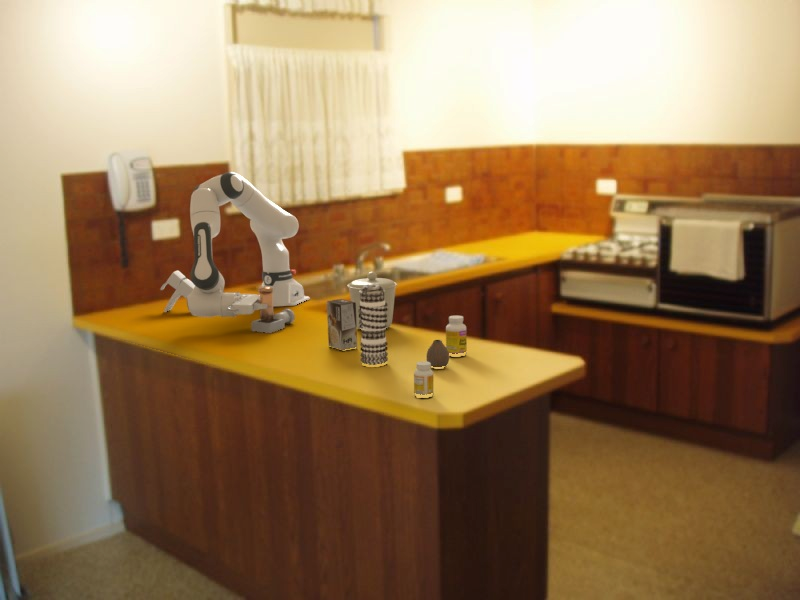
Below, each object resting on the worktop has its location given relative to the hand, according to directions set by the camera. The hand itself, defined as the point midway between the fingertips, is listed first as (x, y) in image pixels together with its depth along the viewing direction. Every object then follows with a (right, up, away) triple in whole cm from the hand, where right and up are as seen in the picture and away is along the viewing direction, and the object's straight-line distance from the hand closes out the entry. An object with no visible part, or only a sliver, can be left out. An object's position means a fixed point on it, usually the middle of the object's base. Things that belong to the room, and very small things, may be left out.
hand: (268, 304), depth 344 cm
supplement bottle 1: (+55, -25, -85) cm, 104 cm away
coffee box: (+29, -15, -28) cm, 43 cm away
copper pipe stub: (-1, -6, +1) cm, 6 cm away
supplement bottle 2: (+66, -17, -41) cm, 80 cm away
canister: (+38, -9, +1) cm, 40 cm away
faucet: (-38, -3, +39) cm, 55 cm away
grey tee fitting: (+2, -9, +5) cm, 10 cm away
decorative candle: (+40, -19, -50) cm, 67 cm away
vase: (+60, -20, -56) cm, 84 cm away
